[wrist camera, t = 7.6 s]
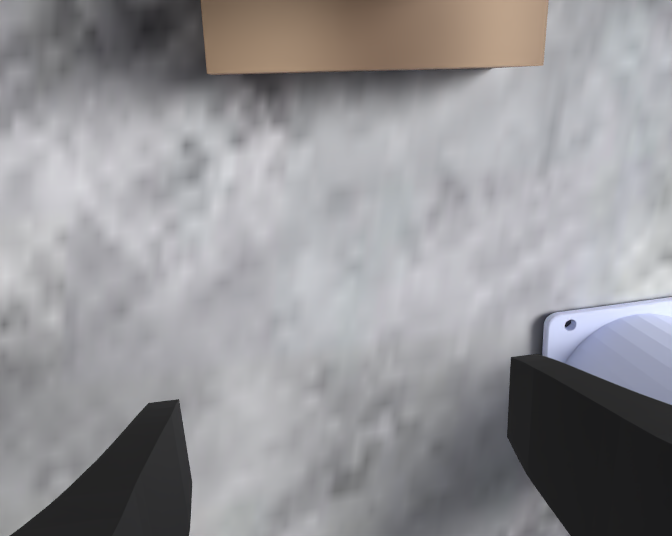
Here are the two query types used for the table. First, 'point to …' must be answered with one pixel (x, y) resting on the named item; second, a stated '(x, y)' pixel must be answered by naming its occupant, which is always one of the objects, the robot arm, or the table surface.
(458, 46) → the walnut block
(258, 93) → the table surface
